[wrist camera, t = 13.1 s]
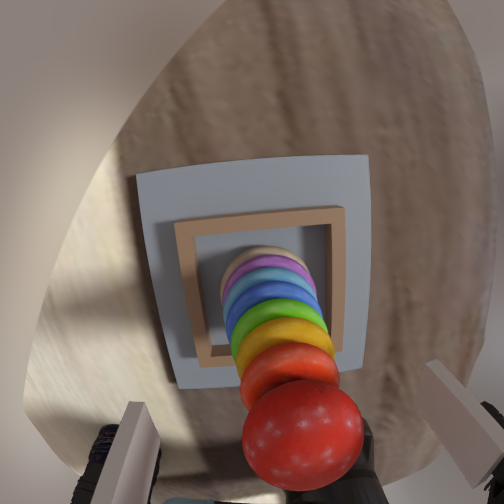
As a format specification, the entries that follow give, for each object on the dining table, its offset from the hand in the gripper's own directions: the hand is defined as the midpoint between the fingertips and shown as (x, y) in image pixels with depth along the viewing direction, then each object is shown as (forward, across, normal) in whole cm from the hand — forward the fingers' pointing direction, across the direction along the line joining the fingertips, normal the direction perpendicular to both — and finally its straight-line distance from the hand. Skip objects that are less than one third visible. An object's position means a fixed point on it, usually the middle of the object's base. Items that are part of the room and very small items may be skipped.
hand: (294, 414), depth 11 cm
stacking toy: (+15, 0, 0) cm, 15 cm away
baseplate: (+16, 0, 0) cm, 16 cm away
